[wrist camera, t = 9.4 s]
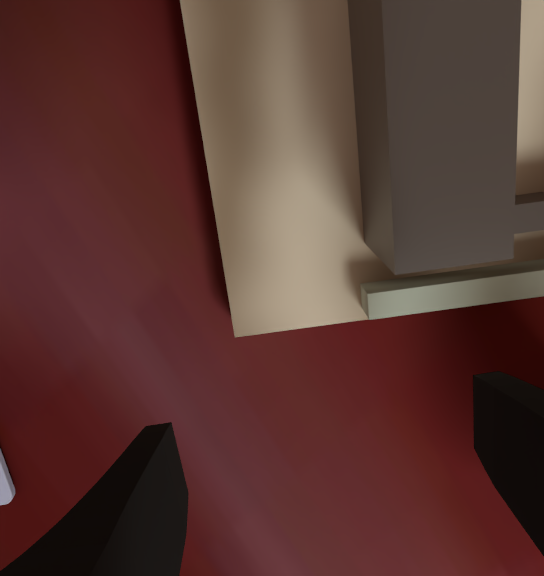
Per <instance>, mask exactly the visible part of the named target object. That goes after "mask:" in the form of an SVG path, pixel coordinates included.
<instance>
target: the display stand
mask: <svg viewBox="0 0 544 576" xmlns="http://www.w3.org/2000/svg"><path fill="white" fill-rule="evenodd" d="M180 4H181V10H182V17H183V23H184V29H185V35H186V41H187V47H188V53H189V59H190V66H191V72H192V78H193V84H194V90H195V96H196V102H197V108H198V115H199V121H200V127H201V133H202V139H203V145H204V151H205V157H206V163H207V170H208V176H209V182H210V188H211V194H212V200H213V206H214V212H215V219H216V225H217V231H218V237H219V243H220V249H221V255H222V261H223V267H224V274H225V280H226V286H227V292H228V298H229V304H230V310H231V316H232V323H233V329H234V335H235V337H241V336H248V335H256V334H263V333H271V332H278V331H285V330H293V329H300V328H307V327H315V326H322V325H329V324H337V323H344V322H351V321H359V320H366V319H369V320H372V319H379V318H387V317H394V316H401V315H409V314H416V313H423V312H431V311H438V310H446V309H453V308H460V307H468V306H475V305H482V304H490V303H497V302H504V301H512V300H519V299H526V298H534V297H541V296H544V230H540V231H533V232H526V233H519V234H514V257H513V259H508V260H500V261H493V262H486V263H479V264H471V265H464V266H457V267H450V268H443V269H435V270H428V271H421V272H414V273H406V274H399V275H395V274H394V273H393V272H392V271H391V270H390V269H389V268H388V267H387V266H386V265H385V264H384V263H383V262H382V261H381V260H380V259H379V258H378V257H377V256H376V255H375V254H374V253H373V251H372V250H371V249H370V248H369V247H368V246H367V245H366V244H365V243H364V231H363V217H362V202H361V188H360V173H359V159H358V145H357V130H356V116H355V101H354V87H353V72H352V58H351V44H350V29H349V15H348V0H180ZM536 192H544V0H521V30H520V63H519V95H518V127H517V160H516V192H515V195H522V194H529V193H536Z"/></svg>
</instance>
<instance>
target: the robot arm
mask: <svg viewBox="0 0 544 576" xmlns="http://www.w3.org/2000/svg"><path fill="white" fill-rule="evenodd" d="M473 406H474V449H475V451H476V453H477V455H478V457H479V459H480V460H481V462H482V464H483V466H484V468H485V470H486V472H487V474H488V476H489V477H490V479H491V481H492V483H493V485H494V486H495V488H496V489H497V491H498V492H499V494H500V495H501V497H502V498H503V499H504V501H505V502H506V504H507V505H508V507H509V508H510V509H511V511H512V512H513V514H514V515H515V517H516V518H517V519H518V521H519V522H520V524H521V525H522V526H523V528H524V529H525V531H526V532H527V533H528V535H529V536H530V538H531V539H532V540H533V542H534V543H535V545H536V546H537V547H538V549H539V550H540V552H541V553H542V554H543V556H544V390H543V389H540V388H538V387H536V386H534V385H531V384H529V383H527V382H525V381H522V380H520V379H518V378H515V377H513V376H510V375H508V374H505V373H502V372H499V371H497V372H490V373H484V374H478V375H473ZM14 495H15V488H14V485H13V482H12V480H11V477H10V474H9V471H8V468H7V466H6V463H5V460H4V457H3V455H2V452H1V449H0V505H4V504H8V503H9V502H10V501H11V500H12V499H13V497H14ZM187 513H188V489H187V485H186V481H185V477H184V473H183V469H182V464H181V460H180V456H179V452H178V448H177V444H176V440H175V436H174V431H173V427H172V423H171V422H170V423H164V424H158V425H151V426H146V427H145V428H144V429H143V430H142V431H141V432H140V433H139V434H138V436H137V437H136V438H135V439H134V440H133V441H132V443H131V444H130V445H129V446H128V447H127V449H126V450H125V451H124V452H123V453H122V454H121V456H120V457H119V458H118V459H117V460H116V461H115V463H114V464H113V465H112V466H111V467H110V468H109V469H108V471H107V472H106V473H105V474H104V475H103V476H102V477H101V479H100V480H99V481H98V482H97V483H96V484H95V485H94V486H93V487H92V488H91V489H90V490H89V491H88V492H87V493H86V495H85V496H84V497H83V498H82V499H81V500H80V501H79V502H78V503H77V504H76V505H75V506H74V507H73V508H72V509H71V510H70V511H69V512H68V513H67V514H66V515H65V516H64V517H63V518H62V519H61V520H60V521H59V522H58V523H57V524H56V525H55V526H54V527H53V528H51V529H50V530H49V531H48V532H47V533H46V534H45V535H44V536H43V537H41V538H40V539H39V540H38V541H37V542H36V543H35V544H33V545H32V546H31V547H30V548H29V549H28V550H26V551H25V552H24V553H23V554H22V555H20V556H19V557H18V558H17V559H15V560H14V561H13V562H12V563H10V564H9V565H8V566H6V567H5V568H4V569H2V570H1V571H0V576H179V573H180V568H181V562H182V556H183V550H184V545H185V539H186V530H187Z"/></svg>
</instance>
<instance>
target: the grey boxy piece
mask: <svg viewBox="0 0 544 576" xmlns="http://www.w3.org/2000/svg"><path fill="white" fill-rule="evenodd" d="M348 15H349V29H350V44H351V58H352V72H353V87H354V101H355V116H356V130H357V145H358V159H359V173H360V188H361V202H362V217H363V231H364V243H365V244H366V245H367V246H368V247H369V248H370V249H371V250H372V251H373V253H374V254H375V255H376V256H377V257H378V258H379V259H380V260H381V261H382V262H383V263H384V264H385V265H386V266H387V267H388V268H389V269H390V270H391V271H392V272H393V273H394V274H395V275H399V274H406V273H414V272H421V271H428V270H435V269H443V268H450V267H457V266H464V265H471V264H479V263H486V262H493V261H500V260H508V259H513V257H514V234H519V233H526V232H533V231H540V230H544V192H536V193H529V194H522V195H515V192H516V160H517V127H518V95H519V63H520V30H521V0H348Z"/></svg>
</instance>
